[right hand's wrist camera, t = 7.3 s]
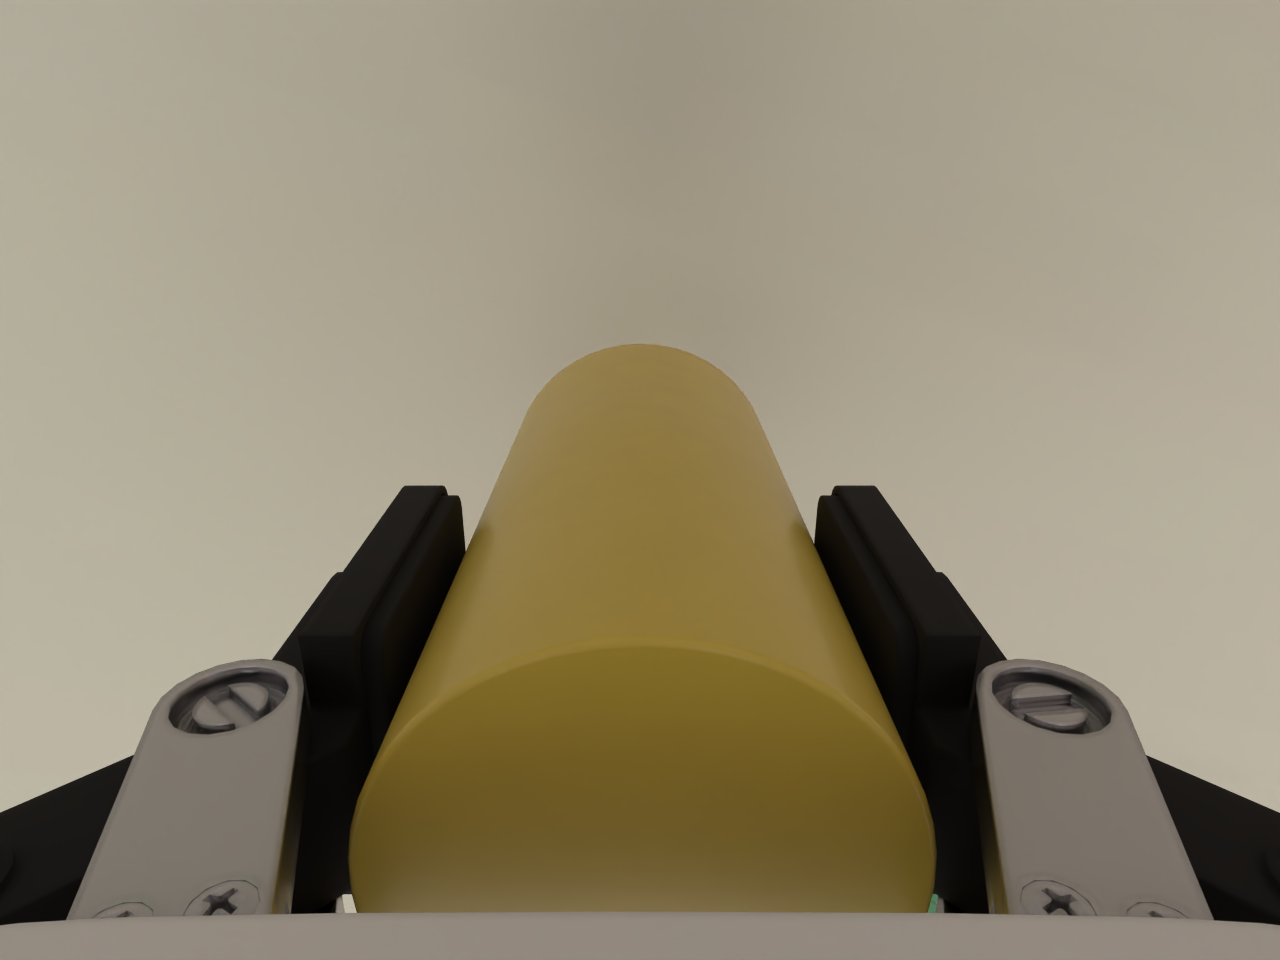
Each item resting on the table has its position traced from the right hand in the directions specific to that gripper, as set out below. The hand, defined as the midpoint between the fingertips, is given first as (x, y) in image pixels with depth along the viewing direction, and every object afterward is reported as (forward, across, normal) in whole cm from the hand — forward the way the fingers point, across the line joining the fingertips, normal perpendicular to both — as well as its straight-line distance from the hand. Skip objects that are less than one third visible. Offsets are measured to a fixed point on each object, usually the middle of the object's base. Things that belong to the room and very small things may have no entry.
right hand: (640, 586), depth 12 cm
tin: (+5, 0, 0) cm, 5 cm away
